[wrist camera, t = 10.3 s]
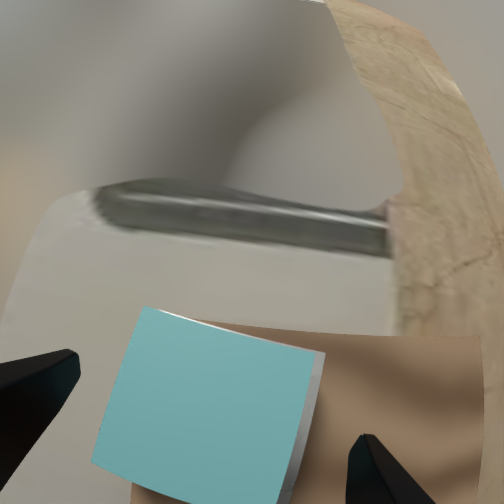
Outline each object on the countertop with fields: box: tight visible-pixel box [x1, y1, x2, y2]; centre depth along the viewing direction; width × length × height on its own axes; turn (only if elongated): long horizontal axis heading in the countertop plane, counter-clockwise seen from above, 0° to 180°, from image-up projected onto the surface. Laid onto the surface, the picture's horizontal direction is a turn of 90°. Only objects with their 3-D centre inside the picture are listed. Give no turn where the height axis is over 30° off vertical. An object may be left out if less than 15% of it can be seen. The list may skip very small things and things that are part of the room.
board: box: [131, 318, 484, 504], centre depth 13 cm, size 19×23×1 cm
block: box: [91, 306, 315, 504], centre depth 10 cm, size 4×4×11 cm
